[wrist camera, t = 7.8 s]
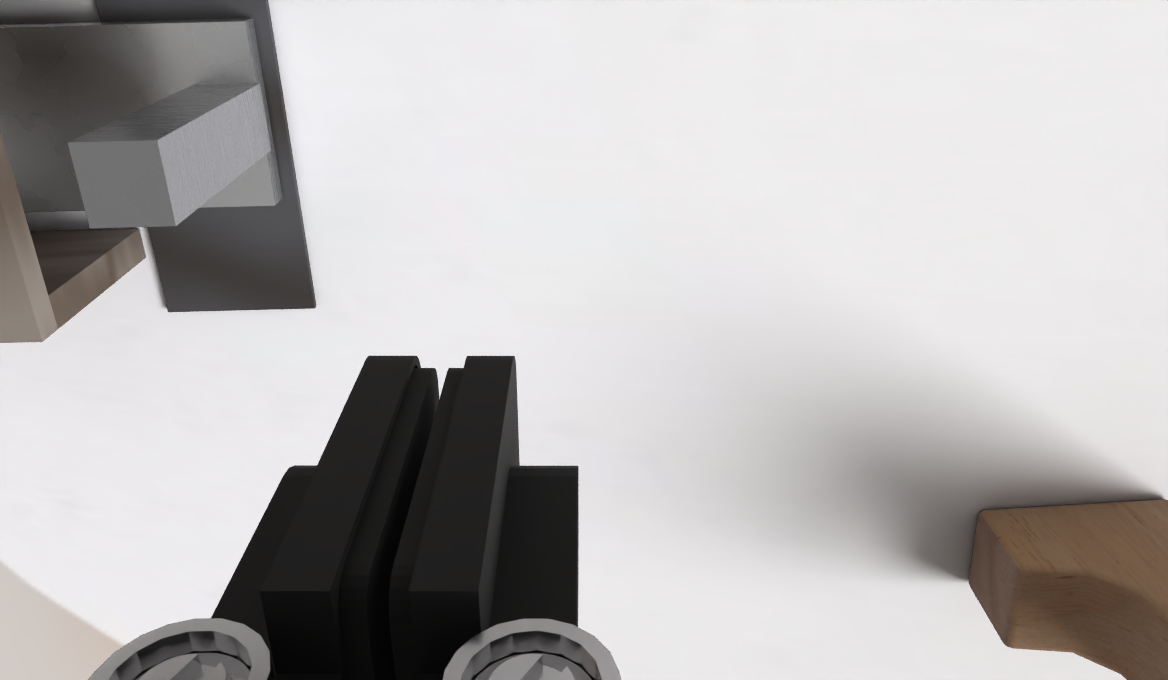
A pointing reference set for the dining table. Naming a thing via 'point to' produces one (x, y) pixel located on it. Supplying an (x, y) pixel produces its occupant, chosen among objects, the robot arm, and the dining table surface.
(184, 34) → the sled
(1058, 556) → the wooden block
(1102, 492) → the dining table surface
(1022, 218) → the dining table surface
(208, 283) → the tunnel
